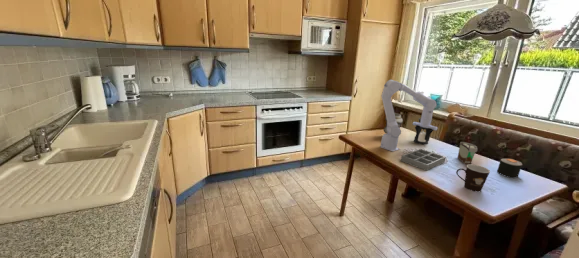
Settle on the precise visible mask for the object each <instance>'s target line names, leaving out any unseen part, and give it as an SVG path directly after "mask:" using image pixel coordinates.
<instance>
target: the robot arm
mask: <svg viewBox="0 0 579 258" xmlns="http://www.w3.org/2000/svg"><path fill="white" fill-rule="evenodd" d="M402 91H403V92H404V93H406V94H408V95H409V96H412V99H413V100H414V101H415V102H417V103H418V104H420V105H422V106H423V107H422V112H421V117H420V118H421V121H420V122H419V121H418V122H417V121H413V122H412V126H415V127H414V129H415V131H416V132H417V138H418V137H419V134H420V133H421V132H422V131H423V129H422V127H424V128H428V129H426V130H425V133H426V136H425V140H427V139H428V137H429V135H430V136H431V134H432V133H433V132H434V131H438V126H436V125H435V126H434V125H432V123H431V120H433V115H434V114H433V113H434V111H435V109H436V108H437V106H438V105H437V101H436V100H435V99H433V98H431V96H430V95H426V94H425V92H424V91H415V90H414V89H412V88H411V87H410V86H408V85H406V84H405V83H402V82H399V81H397V80H393V79H389V80H387V81H386V82H385V83H384V85H383V89H382V93H381V100H382V105H383V108H384V114H385V118H387V121H386V122H387V131H388V133H387V134H386V133H384V134H383V135H382V137H381V142H380V146H379V148H382V149H384V150H387V151H390V152H395V151H398V150H400V148H398V143H399V138H400V136H401V134H402V130H401V128H400V129H399V127H398V124H397V122H396V119H395V114H396V113H395V109H394V106H393V102H392V97H393V95H394V94H396V93H397V92H402ZM394 113H395V114H394ZM416 132H415V133H416Z"/></svg>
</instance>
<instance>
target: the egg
mask: <svg viewBox="0 0 579 258" xmlns="http://www.w3.org/2000/svg"><path fill="white" fill-rule="evenodd" d="M425 136H426V131H425V132H424V131H421V133H420V134H419V137H418V141H420V142H426V140H425Z"/></svg>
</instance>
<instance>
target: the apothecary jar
mask: <svg viewBox="0 0 579 258" xmlns="http://www.w3.org/2000/svg"><path fill="white" fill-rule="evenodd" d="M394 114H395V119H396V122H397V124H398V127H399V129H400V130H401V124H403V121H404V120H403V118H402V115H401V114H400V113H396V112H394ZM385 121H386V124H385V127H383V132H384V134H387V133H388V131H387V118H386V117H385Z"/></svg>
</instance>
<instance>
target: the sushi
mask: <svg viewBox="0 0 579 258" xmlns="http://www.w3.org/2000/svg"><path fill="white" fill-rule="evenodd" d="M522 166H523V163H522V162H521V161H520V160H515V159H513V158H501V159H500V160H499V164H498V168H497V171H496V172H497V173H498V172H499V173H498V174H500V173H501V174H500V175H502V174H503V175H502V176H504V175H505V176H504V177H507V176H508V177H507V178H519V175H520V172H521V169H522Z"/></svg>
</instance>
